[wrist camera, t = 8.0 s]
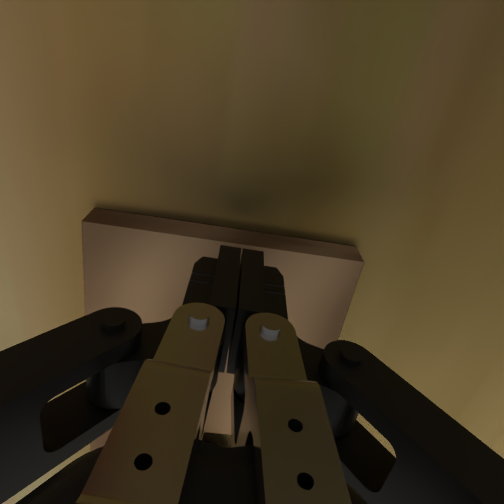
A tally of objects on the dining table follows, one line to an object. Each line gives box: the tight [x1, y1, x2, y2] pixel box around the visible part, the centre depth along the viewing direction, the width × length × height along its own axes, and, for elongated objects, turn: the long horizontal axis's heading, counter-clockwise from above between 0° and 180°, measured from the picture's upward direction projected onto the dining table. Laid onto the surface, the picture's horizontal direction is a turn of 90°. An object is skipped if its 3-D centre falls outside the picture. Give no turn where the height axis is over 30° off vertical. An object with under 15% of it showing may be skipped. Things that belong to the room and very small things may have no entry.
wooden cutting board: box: [82, 208, 364, 451], centre depth 22 cm, size 12×20×2 cm, turn 171°
